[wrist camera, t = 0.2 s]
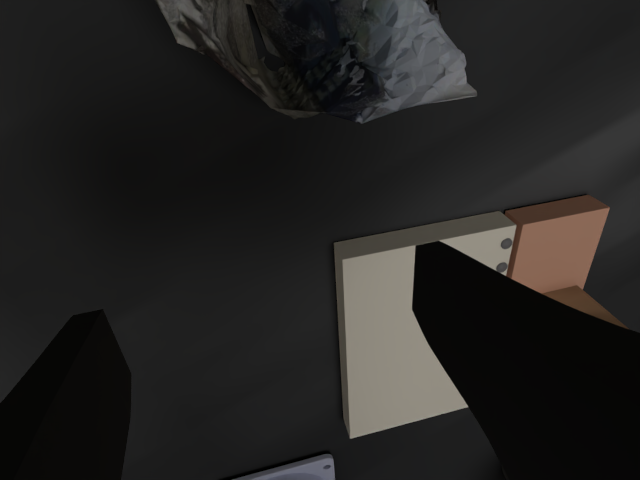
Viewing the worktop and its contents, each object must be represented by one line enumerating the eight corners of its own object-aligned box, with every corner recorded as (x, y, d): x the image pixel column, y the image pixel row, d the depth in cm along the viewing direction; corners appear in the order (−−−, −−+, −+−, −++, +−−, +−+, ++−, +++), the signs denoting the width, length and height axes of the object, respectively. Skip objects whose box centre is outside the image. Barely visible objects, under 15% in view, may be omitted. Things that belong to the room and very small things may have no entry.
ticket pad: (467, 386, 31) (480, 405, 30) (343, 418, 30) (350, 440, 28) (499, 210, 24) (517, 225, 22) (333, 242, 22) (343, 260, 21)
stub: (536, 369, 32) (599, 444, 27) (472, 386, 31) (525, 467, 26) (588, 194, 24) (690, 255, 19) (505, 210, 24) (589, 278, 19)
